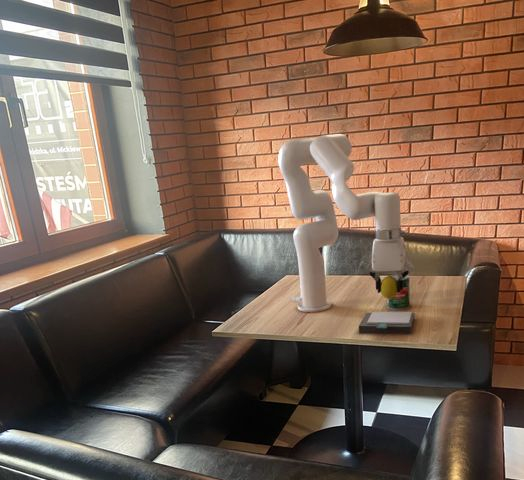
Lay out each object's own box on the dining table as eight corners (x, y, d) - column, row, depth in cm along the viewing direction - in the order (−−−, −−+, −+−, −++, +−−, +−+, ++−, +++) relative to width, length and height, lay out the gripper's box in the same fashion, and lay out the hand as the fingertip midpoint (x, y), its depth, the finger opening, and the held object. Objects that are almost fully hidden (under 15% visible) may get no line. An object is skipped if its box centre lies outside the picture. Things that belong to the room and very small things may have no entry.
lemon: (398, 301, 168) (398, 277, 165) (380, 302, 169) (380, 278, 167) (398, 297, 173) (397, 272, 170) (380, 297, 174) (380, 273, 172)
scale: (357, 335, 169) (357, 326, 168) (366, 319, 183) (366, 310, 182) (409, 336, 163) (409, 327, 162) (414, 320, 177) (414, 311, 176)
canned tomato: (402, 302, 197) (402, 273, 193) (414, 307, 190) (413, 277, 186) (383, 306, 196) (382, 276, 192) (393, 311, 188) (393, 280, 185)
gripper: (418, 231, 164) (418, 288, 171) (362, 233, 170) (364, 289, 177) (415, 235, 158) (416, 294, 164) (357, 238, 164) (360, 295, 170)
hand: (389, 291), depth 170 cm, fingers closed on lemon, 5 cm apart
